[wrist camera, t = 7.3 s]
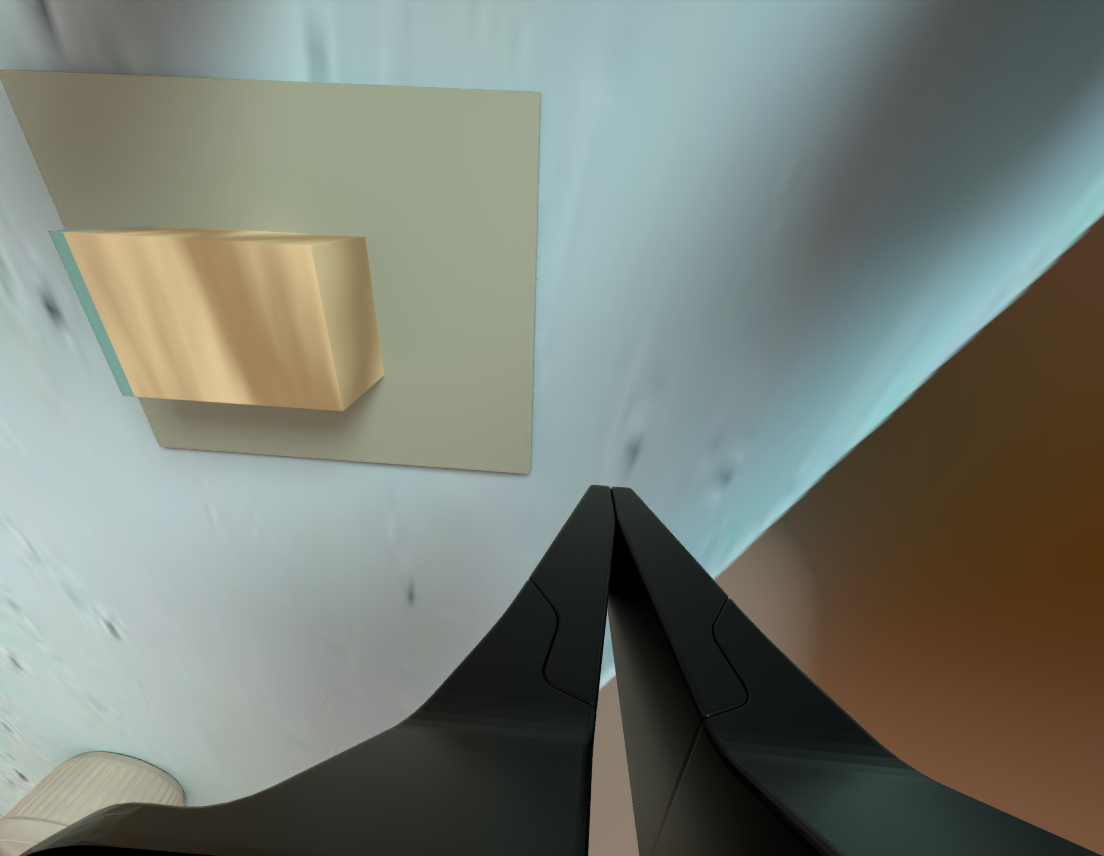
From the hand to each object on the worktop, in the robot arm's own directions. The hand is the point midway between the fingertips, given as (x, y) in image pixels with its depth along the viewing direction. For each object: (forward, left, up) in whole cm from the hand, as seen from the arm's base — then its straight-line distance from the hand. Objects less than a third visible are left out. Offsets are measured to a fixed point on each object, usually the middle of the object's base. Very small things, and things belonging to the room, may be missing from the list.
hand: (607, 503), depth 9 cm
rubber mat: (+13, -1, -12) cm, 17 cm away
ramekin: (+42, +47, -12) cm, 64 cm away
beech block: (+10, -1, -9) cm, 14 cm away
